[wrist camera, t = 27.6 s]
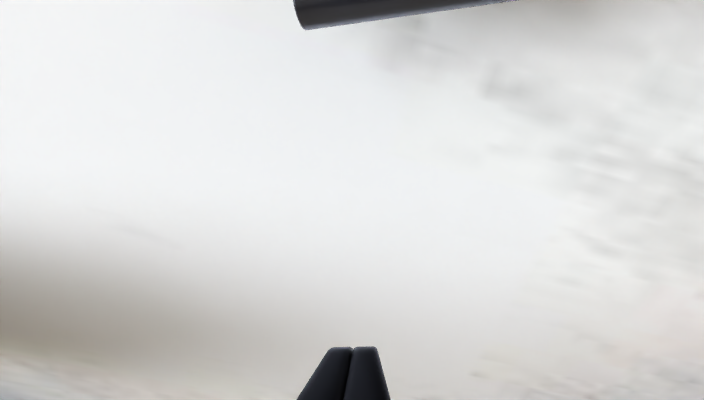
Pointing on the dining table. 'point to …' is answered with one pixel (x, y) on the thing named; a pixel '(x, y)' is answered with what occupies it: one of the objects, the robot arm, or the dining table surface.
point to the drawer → (371, 10)
